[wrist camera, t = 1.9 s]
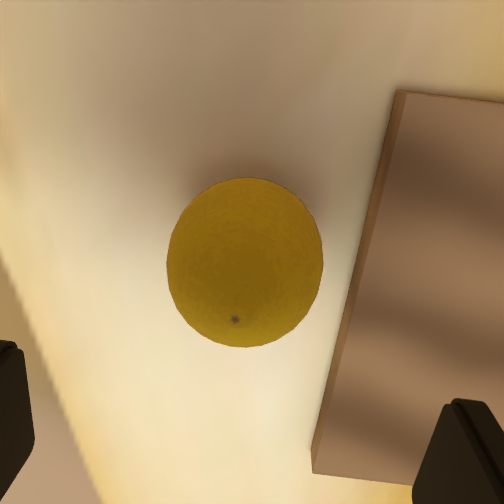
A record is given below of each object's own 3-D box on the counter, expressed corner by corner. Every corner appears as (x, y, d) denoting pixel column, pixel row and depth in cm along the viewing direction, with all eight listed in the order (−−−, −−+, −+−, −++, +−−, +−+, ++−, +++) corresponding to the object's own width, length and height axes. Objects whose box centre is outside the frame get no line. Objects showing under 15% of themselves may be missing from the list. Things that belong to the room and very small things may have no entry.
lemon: (198, 145, 18) (144, 209, 11) (327, 170, 18) (361, 250, 11) (184, 261, 20) (132, 378, 13) (298, 282, 20) (310, 409, 13)
